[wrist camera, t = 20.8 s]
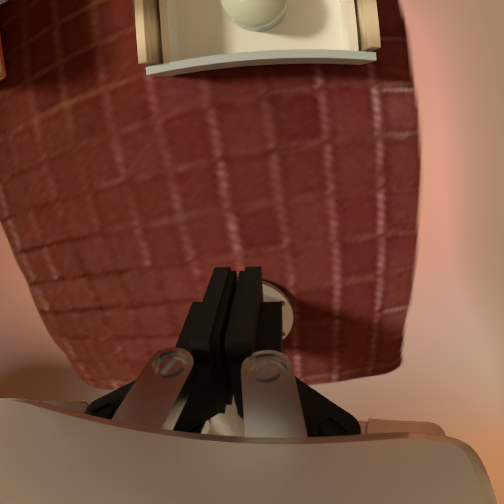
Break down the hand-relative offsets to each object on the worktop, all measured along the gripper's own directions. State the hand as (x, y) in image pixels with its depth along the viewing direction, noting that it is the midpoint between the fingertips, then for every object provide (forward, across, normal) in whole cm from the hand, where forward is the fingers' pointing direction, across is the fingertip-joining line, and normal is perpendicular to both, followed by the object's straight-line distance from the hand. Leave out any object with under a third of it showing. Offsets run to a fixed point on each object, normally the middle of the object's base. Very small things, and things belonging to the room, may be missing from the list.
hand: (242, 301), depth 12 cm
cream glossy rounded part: (+25, 0, -18) cm, 30 cm away
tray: (+26, 0, -18) cm, 31 cm away
